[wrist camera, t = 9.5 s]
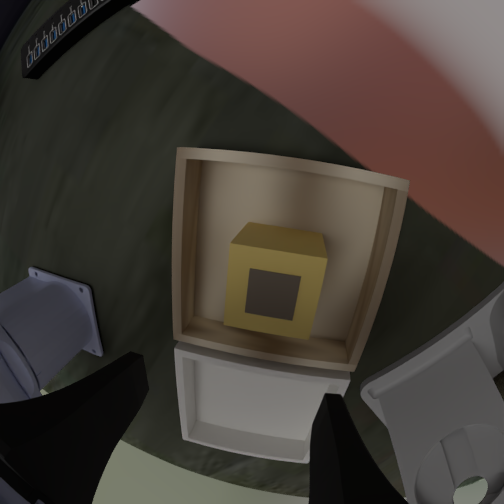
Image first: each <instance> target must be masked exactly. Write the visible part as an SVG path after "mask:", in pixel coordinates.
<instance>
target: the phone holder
mask: <svg viewBox="0 0 504 504" xmlns="http://www.w3.org/2000/svg"><path fill="white" fill-rule="evenodd" d="M503 370H504V282H503V283H502V284H501V285H500V286H499V287H498V288H496V289H495V290H494V291H493V292H492V293H491V294H490V295H488V296H487V297H486V298H485V299H484V300H483V301H481V302H480V303H479V304H478V305H477V306H475V307H474V308H473V309H472V310H470V311H469V312H468V313H467V314H465V315H464V316H463V317H461V318H460V319H459V320H458V321H456V322H455V323H454V324H452V325H451V326H449V327H448V328H447V329H445V330H444V331H443V332H441V333H440V334H438V335H437V336H435V337H434V338H432V339H431V340H430V341H428V342H427V343H425V344H424V345H422V346H420V347H419V348H417V349H416V350H414V351H413V352H411V353H410V354H408V355H406V356H405V357H403V358H401V359H400V360H398V361H396V362H395V363H393V364H391V365H390V366H388V367H386V368H384V369H383V370H381V371H379V372H377V373H375V374H374V375H372V376H370V377H368V378H367V379H365V380H364V381H363V382H362V384H361V385H360V394H361V398H362V399H363V400H364V401H365V402H366V404H367V405H368V406H369V407H370V408H371V409H372V410H373V412H374V413H375V414H376V415H377V416H378V417H379V419H380V420H381V421H382V422H383V423H384V424H385V425H386V427H387V428H388V430H389V434H390V437H391V440H392V444H393V447H394V451H395V454H396V458H397V462H398V465H399V469H400V473H401V477H402V481H403V485H404V489H405V493H406V498H407V502H408V503H409V504H454V502H453V495H454V492H455V490H456V488H457V487H458V486H459V484H460V483H461V482H463V481H464V480H465V479H467V478H469V477H472V476H481V477H483V478H485V479H486V481H487V483H488V490H487V493H486V495H485V497H484V498H483V500H482V501H481V502H480V503H479V504H504V401H503V399H502V397H501V395H500V393H499V391H498V389H497V387H496V385H495V383H494V381H493V378H494V377H495V376H496V375H498V374H499V373H500V372H501V371H503Z"/></svg>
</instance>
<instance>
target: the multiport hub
mask: <svg viewBox="0 0 504 504" xmlns="http://www.w3.org/2000/svg"><path fill="white" fill-rule="evenodd" d="M138 1H140V0H69V1H68V2H66V3H65V4H64V5H63V6H62V7H61V8H60V9H59V10H57V11H56V12H55V13H54V14H53V15H52V16H51V17H50V18H49V19H48V20H47V21H46V22H45V23H44V24H43V25H42V26H41V27H40V28H39V29H38V30H37V31H36V32H35V33H34V34H33V35H32V36H31V38H30V39H29V40H28V41H27V42H26V43H25V44H24V45H23V47H22V49H21V63H22V77H23V78H30V79H38V78H39V77H40V76H41V75H42V74H43V73H44V72H45V71H46V70H47V69H48V68H49V67H50V66H51V65H52V64H53V63H54V62H56V61H57V60H58V59H59V58H60V57H61V56H62V55H63V54H64V53H65V52H66V51H67V50H69V49H70V48H71V47H72V46H73V45H74V44H76V43H77V42H78V41H79V40H80V39H82V38H83V37H84V36H85V35H86V34H88V33H89V32H90V31H92V30H93V29H94V28H95V27H97V26H98V25H99V24H101V23H102V22H103V21H105V20H106V19H108V18H109V17H110V16H112V15H113V14H115V13H116V12H118V11H119V10H121V9H122V8H124V7H125V6H127V5H128V4H129V5H130V6H132V5H134V4H135V3H137V2H138Z"/></svg>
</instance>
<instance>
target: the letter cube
mask: <svg viewBox="0 0 504 504" xmlns="http://www.w3.org/2000/svg"><path fill="white" fill-rule="evenodd" d="M327 260H328V257H327V253H326V248H325V244H324V239H323V235H322V233H317V232H311V231H305V230H298V229H292V228H286V227H279V226H273V225H266V224H259V223H253V222H248V223H247V224H246V225H245V226H244V227H243V228H242V230H241V231H240V232H239V233H238V234H237V235H236V237H235V238H234V239H233V240H232V241H231V242H230V247H229V259H228V271H227V284H226V297H225V310H224V324H223V325H227V326H232V327H237V328H242V329H247V330H252V331H258V332H263V333H269V334H275V335H281V336H287V337H293V338H299V339H306V340H309V337H310V333H311V329H312V325H313V321H314V317H315V313H316V309H317V305H318V301H319V297H320V292H321V288H322V284H323V279H324V274H325V270H326V265H327Z"/></svg>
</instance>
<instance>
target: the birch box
mask: <svg viewBox="0 0 504 504" xmlns="http://www.w3.org/2000/svg"><path fill="white" fill-rule="evenodd" d="M409 183H410V181H409V180H405V179H401V178H397V177H393V176H389V175H384V174H380V173H376V172H371V171H366V170H362V169H357V168H352V167H347V166H341V165H336V164H330V163H324V162H319V161H312V160H306V159H299V158H292V157H285V156H277V155H269V154H261V153H252V152H242V151H231V150H218V149H204V148H185V147H177V156H176V169H175V184H174V202H173V228H172V310H173V336H174V339H175V340H179V341H183V342H186V343H190V344H194V345H198V346H202V347H207V348H211V349H215V350H220V351H224V352H229V353H234V354H238V355H243V356H248V357H254V358H259V359H264V360H270V361H276V362H282V363H288V364H295V365H301V366H308V367H316V368H324V369H332V370H341V371H351V372H354V371H355V369H356V367H357V364H358V362H359V359H360V357H361V354H362V352H363V349H364V347H365V344H366V342H367V339H368V336H369V334H370V331H371V328H372V325H373V322H374V320H375V317H376V314H377V311H378V308H379V305H380V302H381V299H382V296H383V292H384V289H385V286H386V282H387V279H388V276H389V272H390V269H391V265H392V261H393V257H394V254H395V250H396V246H397V242H398V238H399V233H400V229H401V224H402V220H403V215H404V210H405V205H406V200H407V194H408V189H409ZM248 222H253V223H259V224H266V225H273V226H279V227H286V228H292V229H298V230H305V231H311V232H317V233H322V235H323V239H324V244H325V248H326V253H327V257H328V260H327V265H326V270H325V274H324V279H323V284H322V288H321V292H320V297H319V301H318V305H317V309H316V313H315V317H314V321H313V325H312V329H311V333H310V337H309V340H306V339H299V338H293V337H287V336H281V335H275V334H269V333H263V332H258V331H252V330H247V329H242V328H237V327H232V326H227V325H223V324H224V310H225V297H226V284H227V271H228V259H229V247H230V242H231V241H232V240H233V239H234V238H235V237H236V235H237V234H238V233H239V232H240V231H241V230H242V228H243V227H244V226H245V225H246V224H247V223H248Z"/></svg>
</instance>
